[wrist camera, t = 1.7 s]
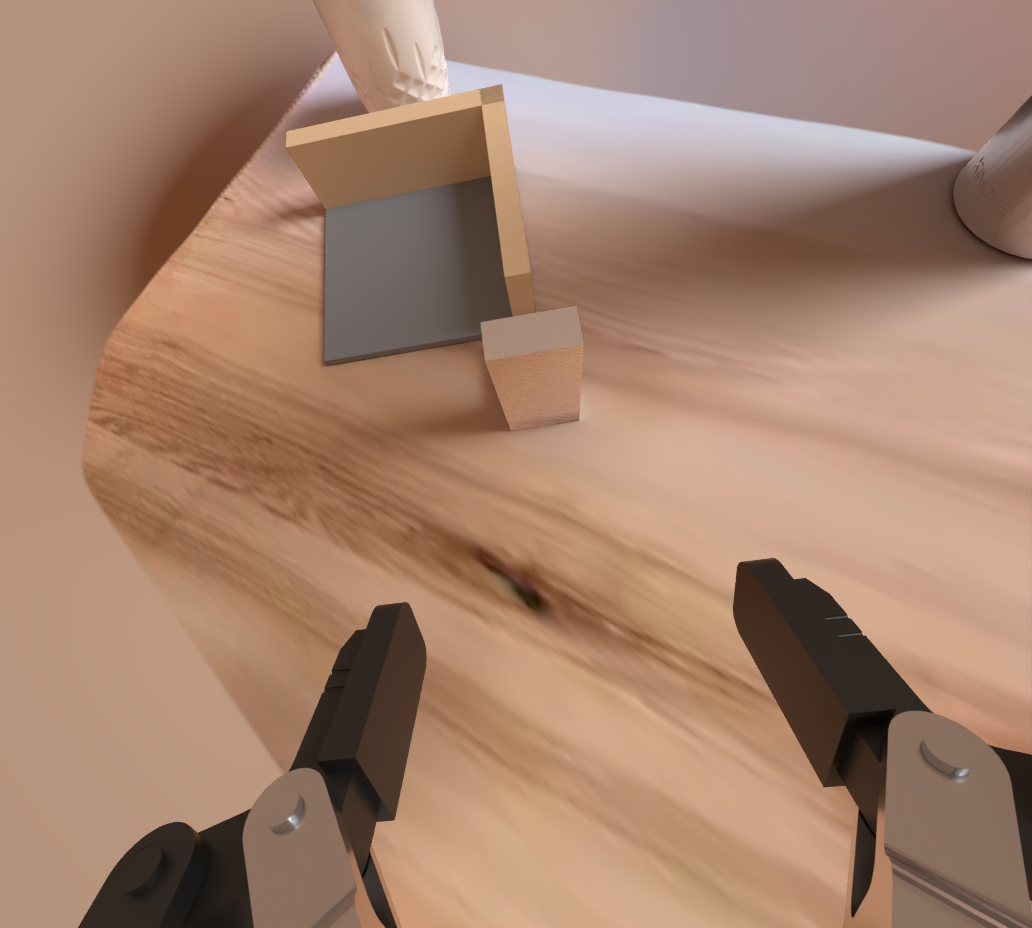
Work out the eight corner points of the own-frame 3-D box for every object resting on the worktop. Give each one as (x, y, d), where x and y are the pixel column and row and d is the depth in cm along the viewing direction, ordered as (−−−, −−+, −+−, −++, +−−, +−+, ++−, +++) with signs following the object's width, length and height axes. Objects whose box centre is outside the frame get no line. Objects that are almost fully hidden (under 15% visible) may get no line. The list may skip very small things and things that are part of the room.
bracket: (564, 338, 29) (563, 234, 20) (579, 420, 27) (583, 344, 19) (500, 349, 29) (472, 251, 21) (510, 430, 28) (484, 360, 19)
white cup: (379, 168, 35) (309, 12, 26) (362, 103, 38) (292, -61, 28) (471, 136, 35) (434, -32, 26) (448, 73, 37) (407, -103, 28)
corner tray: (512, 163, 34) (501, 84, 28) (537, 329, 29) (531, 272, 24) (329, 201, 35) (286, 131, 30) (328, 365, 31) (278, 318, 25)
